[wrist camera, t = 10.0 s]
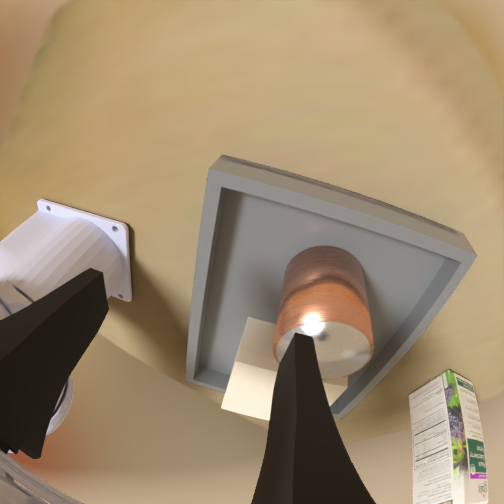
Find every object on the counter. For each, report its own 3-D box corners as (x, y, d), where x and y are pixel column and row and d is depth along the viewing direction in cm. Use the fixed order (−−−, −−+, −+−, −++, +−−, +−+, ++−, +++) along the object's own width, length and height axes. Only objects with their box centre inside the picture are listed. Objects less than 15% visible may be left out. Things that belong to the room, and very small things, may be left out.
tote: (192, 361, 30) (184, 380, 28) (222, 154, 17) (208, 168, 15) (342, 398, 29) (341, 418, 27) (463, 233, 17) (477, 255, 15)
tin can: (276, 298, 22) (262, 370, 17) (296, 235, 19) (287, 308, 14) (346, 315, 21) (348, 387, 16) (376, 257, 18) (391, 331, 13)
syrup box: (473, 381, 25) (492, 502, 13) (434, 406, 28) (441, 519, 17) (448, 367, 24) (467, 507, 12) (405, 395, 28) (409, 523, 16)
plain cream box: (231, 370, 28) (220, 408, 25) (248, 316, 23) (235, 360, 20) (312, 390, 28) (308, 428, 24) (347, 342, 23) (347, 387, 20)
